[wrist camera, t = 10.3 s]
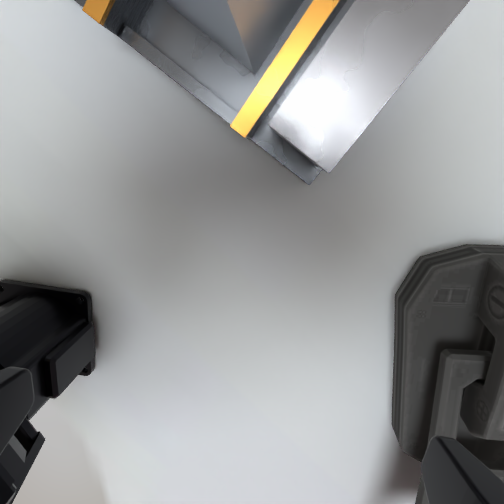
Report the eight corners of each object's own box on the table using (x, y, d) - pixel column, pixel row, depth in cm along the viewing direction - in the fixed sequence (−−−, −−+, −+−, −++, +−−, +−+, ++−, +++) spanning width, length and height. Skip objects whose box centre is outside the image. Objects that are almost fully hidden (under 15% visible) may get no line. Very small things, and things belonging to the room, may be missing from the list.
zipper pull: (380, 651, 20) (463, 289, 13) (357, 532, 27) (402, 241, 19) (532, 671, 20) (721, 299, 12) (471, 543, 26) (568, 245, 18)
